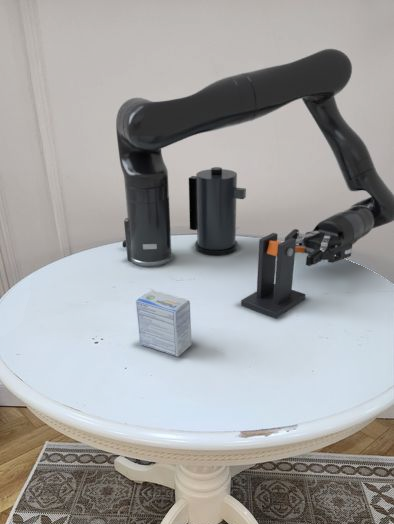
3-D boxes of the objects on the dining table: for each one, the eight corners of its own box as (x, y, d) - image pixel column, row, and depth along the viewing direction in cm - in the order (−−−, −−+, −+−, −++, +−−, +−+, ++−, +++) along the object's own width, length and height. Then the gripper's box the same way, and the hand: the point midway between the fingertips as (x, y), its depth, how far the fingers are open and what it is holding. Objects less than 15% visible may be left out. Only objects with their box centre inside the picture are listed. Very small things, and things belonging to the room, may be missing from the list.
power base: (271, 288, 108) (275, 226, 101) (305, 299, 103) (311, 236, 96) (240, 305, 101) (242, 241, 95) (275, 318, 97) (280, 252, 90)
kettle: (183, 251, 125) (180, 171, 115) (200, 237, 133) (199, 161, 123) (235, 259, 120) (237, 176, 111) (249, 244, 128) (253, 165, 118)
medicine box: (192, 345, 89) (191, 299, 85) (177, 358, 86) (175, 311, 82) (154, 333, 93) (151, 288, 88) (138, 345, 90) (134, 299, 85)
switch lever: (292, 252, 106) (295, 240, 105) (314, 258, 103) (317, 246, 103) (260, 251, 97) (263, 238, 96) (283, 258, 94) (286, 245, 94)
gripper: (311, 208, 115) (265, 230, 104) (373, 222, 107) (330, 248, 96) (308, 241, 119) (263, 265, 109) (367, 257, 111) (325, 285, 100)
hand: (295, 257), depth 102 cm, fingers closed on switch lever, 5 cm apart
